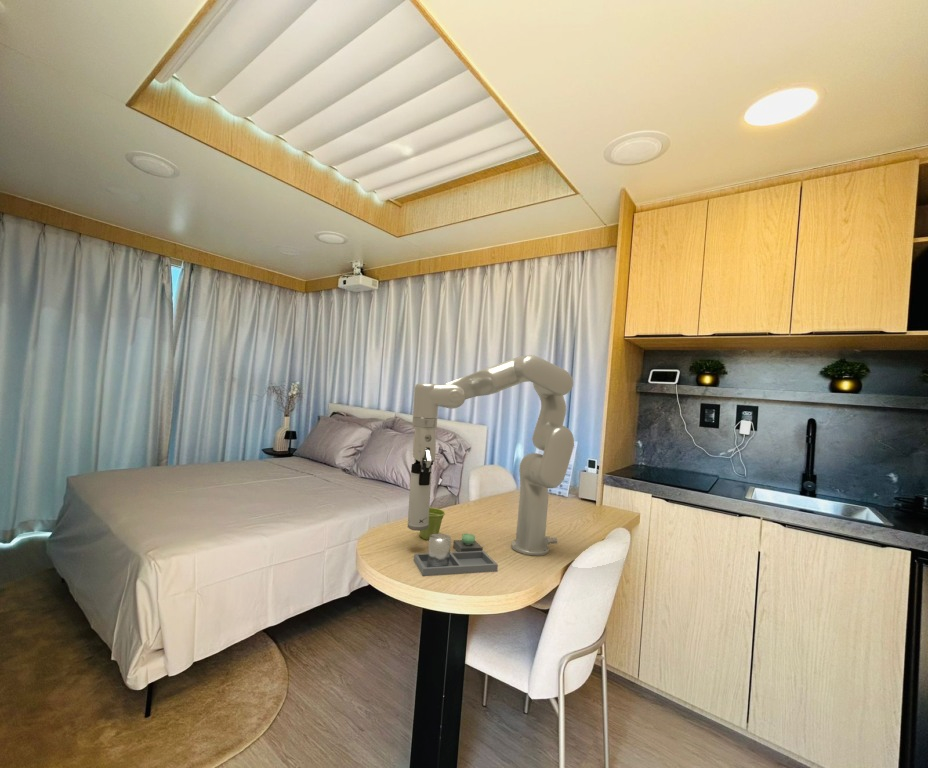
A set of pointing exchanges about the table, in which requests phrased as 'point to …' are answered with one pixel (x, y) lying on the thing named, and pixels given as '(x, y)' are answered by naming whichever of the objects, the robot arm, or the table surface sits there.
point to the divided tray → (458, 564)
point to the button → (468, 539)
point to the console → (466, 546)
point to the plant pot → (433, 523)
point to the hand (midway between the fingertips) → (421, 482)
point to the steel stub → (438, 550)
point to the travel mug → (418, 500)
